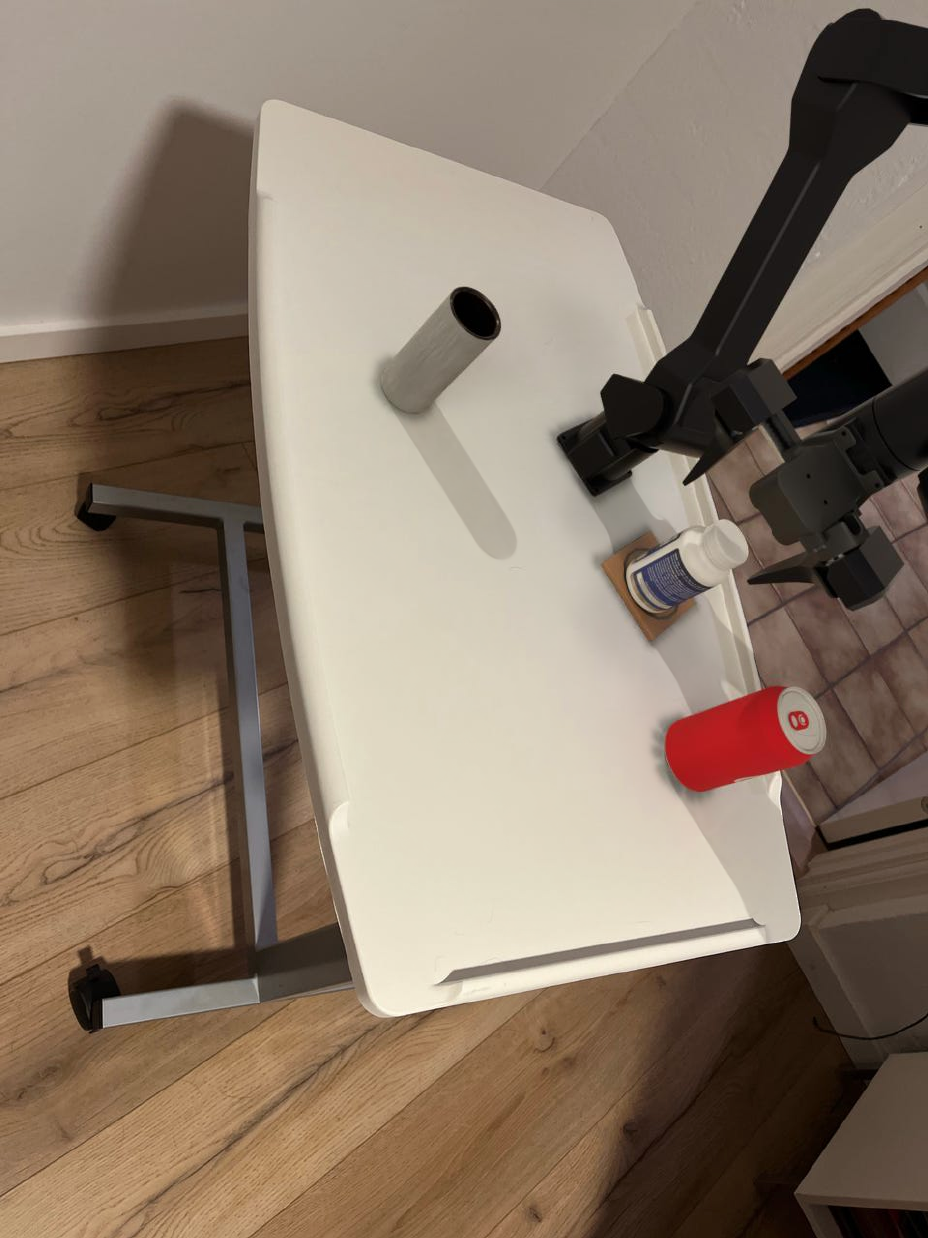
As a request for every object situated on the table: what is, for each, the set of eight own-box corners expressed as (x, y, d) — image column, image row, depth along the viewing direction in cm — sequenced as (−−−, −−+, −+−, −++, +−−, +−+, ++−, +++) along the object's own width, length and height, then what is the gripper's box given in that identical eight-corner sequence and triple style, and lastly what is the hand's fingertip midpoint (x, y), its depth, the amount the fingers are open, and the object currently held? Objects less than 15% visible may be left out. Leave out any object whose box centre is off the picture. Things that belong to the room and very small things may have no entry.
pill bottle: (666, 624, 80) (755, 582, 73) (622, 599, 78) (708, 553, 70) (669, 574, 83) (755, 529, 76) (626, 548, 81) (710, 499, 73)
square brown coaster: (647, 532, 84) (651, 530, 84) (692, 605, 84) (697, 603, 84) (600, 564, 79) (604, 561, 78) (649, 641, 79) (653, 639, 78)
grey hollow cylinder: (371, 389, 71) (441, 309, 63) (392, 354, 73) (461, 274, 66) (417, 424, 72) (491, 351, 64) (435, 389, 75) (509, 315, 67)
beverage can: (719, 788, 77) (841, 755, 68) (671, 799, 74) (793, 766, 64) (697, 717, 79) (813, 676, 70) (649, 725, 75) (765, 682, 66)
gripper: (772, 340, 54) (598, 465, 66) (942, 602, 54) (738, 679, 66) (839, 302, 61) (671, 421, 73) (988, 533, 61) (797, 614, 73)
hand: (717, 531), depth 71 cm, fingers open, 9 cm apart
